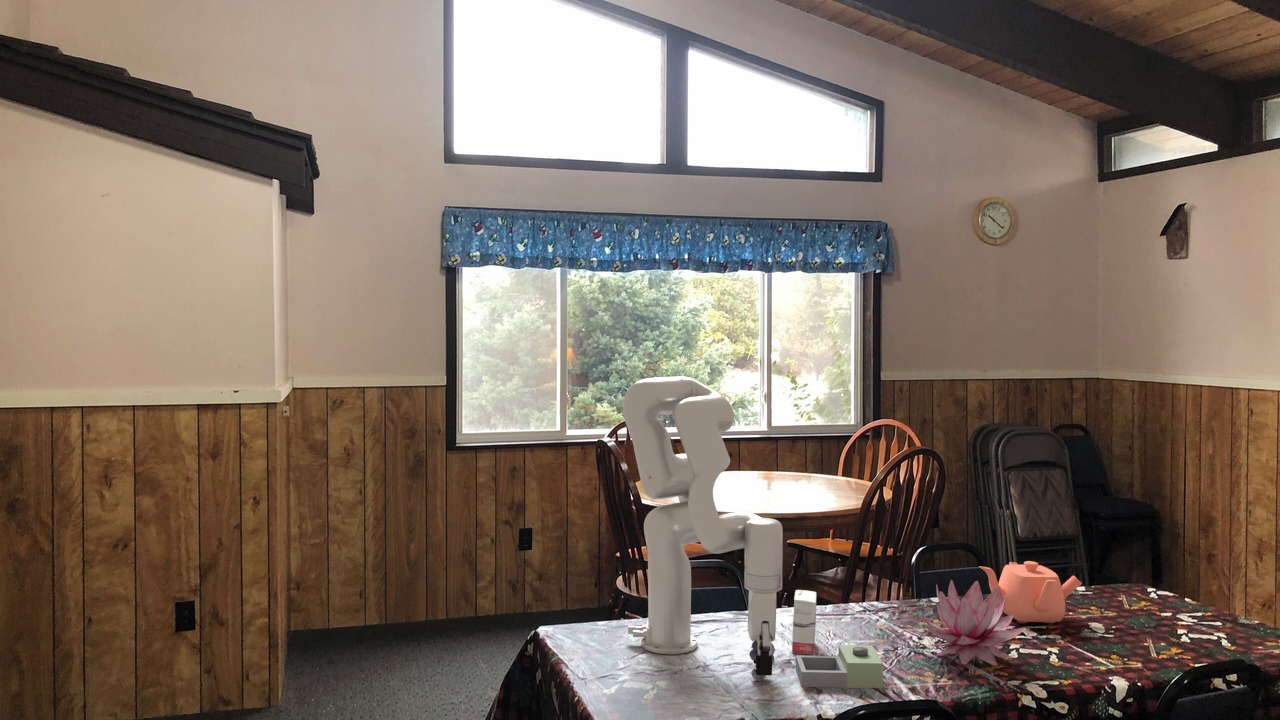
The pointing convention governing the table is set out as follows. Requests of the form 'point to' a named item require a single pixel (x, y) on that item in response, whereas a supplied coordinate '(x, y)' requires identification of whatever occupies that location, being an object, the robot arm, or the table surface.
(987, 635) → the decorative flower
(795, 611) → the ink box
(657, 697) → the table surface
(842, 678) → the green and grey box
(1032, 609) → the teapot
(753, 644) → the seashell
